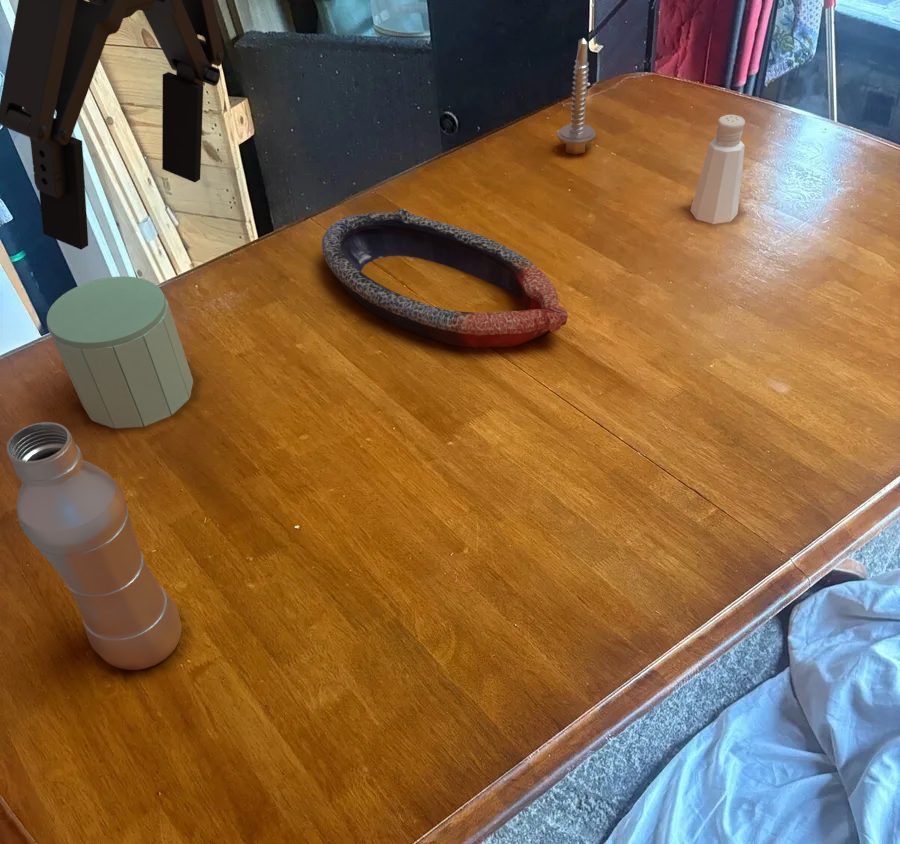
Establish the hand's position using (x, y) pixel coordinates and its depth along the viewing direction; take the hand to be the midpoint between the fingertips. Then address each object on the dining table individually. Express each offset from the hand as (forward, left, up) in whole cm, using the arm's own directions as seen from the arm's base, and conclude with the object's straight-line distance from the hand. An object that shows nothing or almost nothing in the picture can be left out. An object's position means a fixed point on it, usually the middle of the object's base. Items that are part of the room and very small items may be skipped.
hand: (128, 205), depth 61 cm
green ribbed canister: (-12, +4, -24) cm, 27 cm away
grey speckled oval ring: (+7, +30, -24) cm, 39 cm away
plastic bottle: (+8, -19, -24) cm, 31 cm away
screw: (+7, +68, -24) cm, 73 cm away
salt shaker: (+28, +58, -24) cm, 69 cm away
